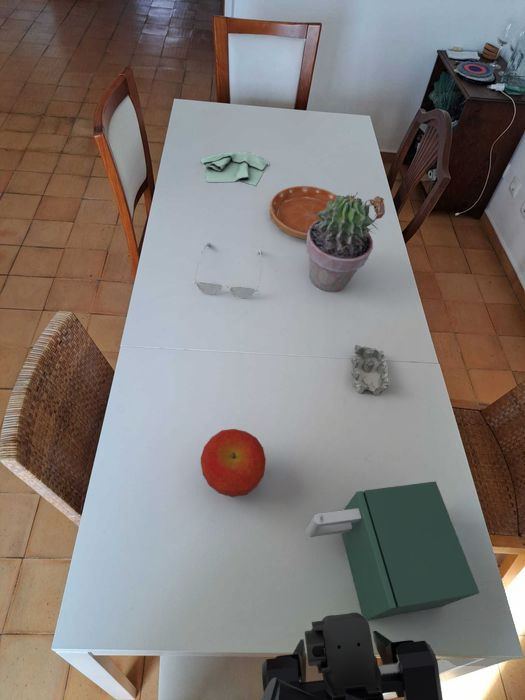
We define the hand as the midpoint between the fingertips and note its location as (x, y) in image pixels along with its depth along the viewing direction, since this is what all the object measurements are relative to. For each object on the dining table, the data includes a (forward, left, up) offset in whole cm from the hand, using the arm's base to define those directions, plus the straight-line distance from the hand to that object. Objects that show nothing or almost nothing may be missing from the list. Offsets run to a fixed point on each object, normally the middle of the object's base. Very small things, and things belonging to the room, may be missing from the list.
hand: (338, 638), depth 58 cm
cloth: (+127, -2, -14) cm, 128 cm away
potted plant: (+77, -20, -14) cm, 81 cm away
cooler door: (+10, -5, -13) cm, 17 cm away
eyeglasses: (+81, +4, -14) cm, 82 cm away
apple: (+27, +10, -14) cm, 32 cm away
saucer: (+101, -21, -14) cm, 104 cm away
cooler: (+10, -15, -13) cm, 23 cm away
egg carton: (+47, -22, -14) cm, 54 cm away
